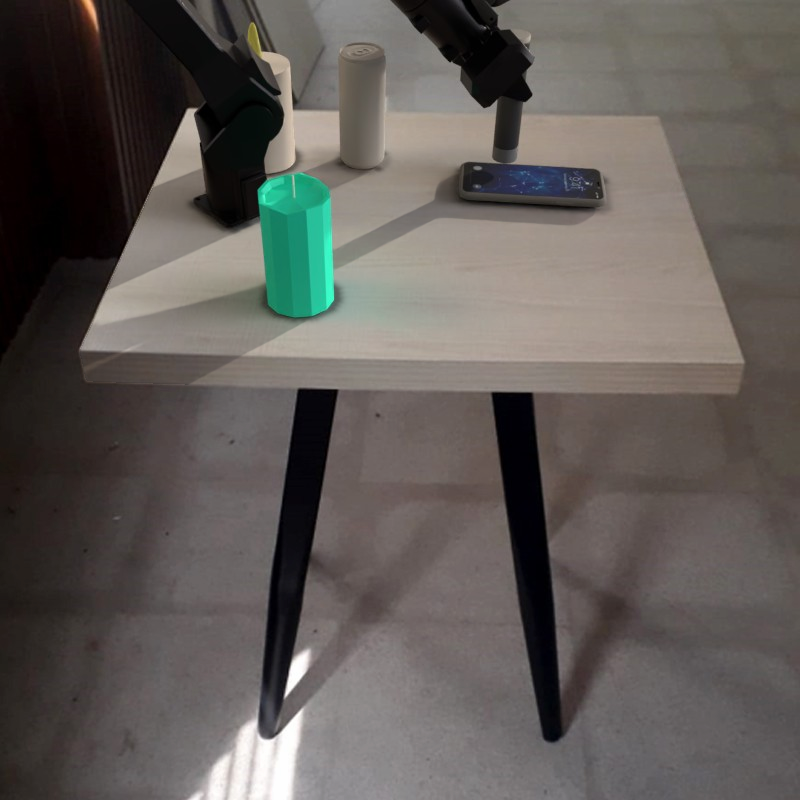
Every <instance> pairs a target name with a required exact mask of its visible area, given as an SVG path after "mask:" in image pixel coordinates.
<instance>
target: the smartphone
mask: <svg viewBox="0 0 800 800" xmlns="http://www.w3.org/2000/svg"><path fill="white" fill-rule="evenodd" d="M458 179H459V180H458V196H459V197H460V198H461V199H464V200H466V201H480V202H495V203H497V202H499V203H515V204H532V205H533V204H534V205H547V206H548V205H549V206H565V207H582V208H583V207H584V208H601V207H604V206H605V205H606V204H607V200H608V199H607V191H606V187H605V181H604V180H605V179H604V175H603V172H602V171H601V170H599V169H597V168H589V167H573V166H572V167H570V166H556V165H553V166H552V165H537V164H521V163H507V164H505V163H499V162H483V161H465V162H463V163H461V165H460V167H459V178H458Z"/></svg>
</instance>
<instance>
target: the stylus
mask: <svg viewBox="0 0 800 800" xmlns="http://www.w3.org/2000/svg"><path fill="white" fill-rule="evenodd" d="M510 30H511V31H512V32H513V33H514V34H515V35H516V36H517V37H518V39H519V40H520V41H521V42H522V43H523V44H524V45H525V46H526V48H527V49H528V50H529V51H530V47H531V37H532V34H531V32H529V31H527V30H526V29H525V30H524V29H520V28H513V29H512V28H510ZM527 73H528V69H527V70H526V71H525V72H524V73H523V74H522V75H523V77H524V79H525V81H526V82H527ZM523 109H524V102H521V101H517V100H514V99H510V98H507V97H503V96H500V97H499V98H498V99H497V100H496V112H495V122H494V131H493V132H494V133H493V144H492V152H491V153H492V154H491V158H492V160H493V161H495V163H503V164H514V163H515V162H516V161H517V159H518V153H519V144H520V143H519V142H520V134H521V126H522V117H523Z"/></svg>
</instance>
